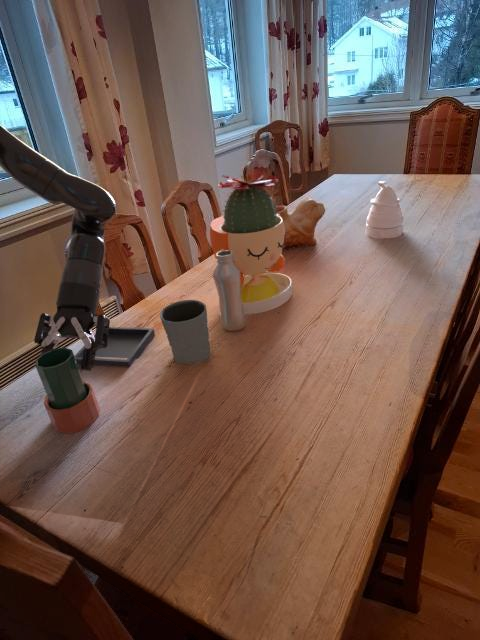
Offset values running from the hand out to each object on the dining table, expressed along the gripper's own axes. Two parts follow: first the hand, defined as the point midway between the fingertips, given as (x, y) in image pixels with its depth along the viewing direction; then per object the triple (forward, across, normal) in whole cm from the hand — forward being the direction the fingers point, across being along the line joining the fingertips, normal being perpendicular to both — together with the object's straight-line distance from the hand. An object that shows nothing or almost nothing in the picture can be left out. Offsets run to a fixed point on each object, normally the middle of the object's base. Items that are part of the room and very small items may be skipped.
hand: (65, 369), depth 80 cm
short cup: (+9, 0, +7) cm, 11 cm away
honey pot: (-66, +63, +82) cm, 122 cm away
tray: (-8, -4, +24) cm, 25 cm away
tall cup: (+8, 0, +6) cm, 10 cm away
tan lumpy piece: (-60, +30, +75) cm, 101 cm away
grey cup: (-7, +16, +23) cm, 29 cm away
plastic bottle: (-16, +23, +32) cm, 43 cm away
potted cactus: (-29, +24, +45) cm, 59 cm away
